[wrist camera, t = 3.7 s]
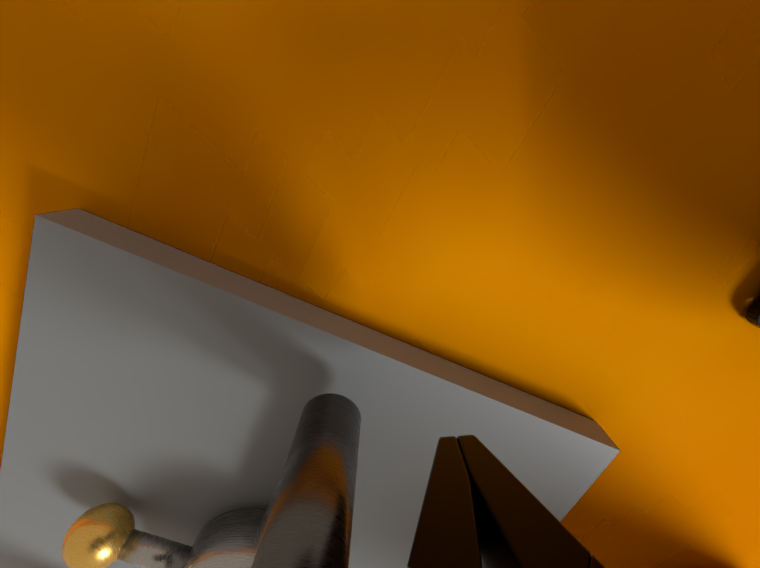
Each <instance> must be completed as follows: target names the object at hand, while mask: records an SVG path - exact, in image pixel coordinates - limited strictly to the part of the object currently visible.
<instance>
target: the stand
mask: <svg viewBox="0 0 760 568" xmlns="http://www.w3.org/2000/svg"><path fill="white" fill-rule="evenodd" d="M327 393H333V394H339V395H342V396H345V397H347V398H348V399H350V400H351V401H353V402H354V403H355V404H356V406H357V407H358V409H359V411H360V414H361V428H360V440H359V451H358V463H357V475H356V486H355V498H354V509H353V521H352V533H351V544H350V556H349V568H407V564H408V560H409V556H410V552H411V548H412V544H413V540H414V536H415V532H416V528H417V524H418V520H419V516H420V512H421V508H422V504H423V500H424V496H425V492H426V488H427V484H428V480H429V476H430V472H431V468H432V464H433V460H434V456H435V452H436V448H437V444H438V440H439V438H440V437H447V436H455V437H456V438H457V437H458V436H460V435H474V436H476V437H477V438H478V439H479V440H480V441H481V442H482V443H483V444H484V445H485V446H486V447H487V448H488V449H489V450H490V451H491V452H492V453H493V454H494V455H495V456H496V457H497V458H498V459H499V460H500V462H501V463H502V464H503V465H504V466H505V467H506V468H507V469H508V470H509V471H510V472H511V473H512V474H513V475H514V476H515V477H516V478H517V479H518V480H519V481H520V482H521V483H522V484H523V485H524V486H525V487H526V488H527V489H528V490H529V491H530V492H531V493H532V494H533V495H534V496H535V497H536V498H537V499H538V500H539V501H540V502H541V503H542V504H543V505H544V506H545V507H546V508H547V509H548V510H549V511H550V512H551V513H552V514H553V515H554V516H555V517H556V518H557V519H558V520H559V521H560V522H561V521H562V519H563V518H564V517H565V516H566V515H567V513H568V512H569V511H570V510H571V509H572V508H573V506H574V505H575V504H576V503H577V502H578V500H579V499H580V498H581V497H582V496H583V494H584V493H585V492H586V491H587V490H588V489H589V487H590V486H591V485H592V484H593V483H594V481H595V480H596V479H597V478H598V477H599V476H600V474H601V473H602V472H603V471H604V470H605V468H606V467H607V466H608V465H609V464H610V462H611V461H612V460H613V459H614V458H615V457H616V455H617V454H618V453H619V452H620V450H619V448H618V447H617V446H616V445H615V444H614V442H613V441H612V440H611V439H610V438H609V436H608V435H607V434H606V433H605V432H604V430H603V429H602V428H601V427H600V426H599V424H598V423H597V422H596V421H594V420H591V419H589V418H586V417H584V416H581V415H579V414H577V413H574V412H572V411H569V410H567V409H564V408H562V407H560V406H557V405H555V404H552V403H550V402H547V401H545V400H543V399H540V398H538V397H535V396H533V395H530V394H528V393H526V392H523V391H521V390H518V389H516V388H513V387H511V386H509V385H506V384H504V383H501V382H499V381H496V380H494V379H492V378H489V377H487V376H484V375H482V374H479V373H477V372H475V371H472V370H470V369H467V368H465V367H462V366H460V365H458V364H455V363H453V362H450V361H448V360H445V359H443V358H441V357H438V356H436V355H433V354H431V353H428V352H426V351H424V350H421V349H419V348H416V347H414V346H411V345H409V344H407V343H404V342H402V341H399V340H397V339H394V338H392V337H390V336H387V335H385V334H382V333H380V332H377V331H375V330H373V329H370V328H368V327H365V326H363V325H360V324H358V323H356V322H353V321H351V320H348V319H346V318H343V317H341V316H339V315H336V314H334V313H331V312H329V311H326V310H324V309H322V308H319V307H317V306H314V305H312V304H309V303H307V302H305V301H302V300H300V299H297V298H295V297H292V296H290V295H288V294H285V293H283V292H280V291H278V290H275V289H273V288H271V287H268V286H266V285H263V284H261V283H258V282H256V281H254V280H251V279H249V278H246V277H244V276H241V275H239V274H237V273H234V272H232V271H229V270H227V269H224V268H222V267H220V266H217V265H215V264H212V263H210V262H207V261H205V260H203V259H200V258H198V257H195V256H193V255H190V254H188V253H186V252H183V251H181V250H178V249H176V248H173V247H171V246H169V245H166V244H164V243H161V242H159V241H156V240H154V239H152V238H149V237H147V236H144V235H142V234H139V233H137V232H135V231H132V230H130V229H127V228H125V227H122V226H120V225H118V224H115V223H113V222H110V221H108V220H105V219H103V218H101V217H98V216H96V215H93V214H91V213H88V212H86V211H84V210H81V209H79V208H78V209H71V210H64V211H57V212H50V213H43V214H36V215H35V220H34V227H33V235H32V242H31V249H30V257H29V264H28V271H27V279H26V286H25V294H24V301H23V308H22V316H21V323H20V330H19V338H18V345H17V352H16V360H15V367H14V374H13V382H12V389H11V396H10V404H9V411H8V418H7V426H6V433H5V441H4V448H3V455H2V463H1V470H0V568H69V567H68V566H67V565H66V563H65V562H64V559H63V555H62V546H63V541H64V538H65V535H66V533H67V531H68V530H69V528H70V526H71V525H72V524H73V523H74V521H75V520H76V519H77V518H78V517H79V516H81V515H82V514H83V513H84V512H86V511H87V510H89V509H91V508H93V507H95V506H97V505H100V504H104V503H119V504H122V505H124V506H126V507H127V508H128V509H129V510H130V511H131V512H132V514H133V516H134V519H135V529H137V530H140V531H143V532H146V533H150V534H153V535H156V536H159V537H163V538H166V539H169V540H172V541H176V542H179V543H182V544H185V545H189V546H193V544H194V542H195V540H196V538H197V536H198V534H199V532H200V530H201V529H202V528H203V526H204V525H205V524H206V523H208V522H209V521H210V520H212V519H213V518H214V517H216V516H218V515H220V514H223V513H226V512H229V511H233V510H239V509H264V510H267V508H268V506H269V504H270V502H271V500H272V497H273V495H274V493H275V491H276V489H277V487H278V484H279V481H280V478H281V475H282V472H283V469H284V466H285V463H286V460H287V457H288V454H289V451H290V448H291V445H292V442H293V439H294V435H295V432H296V429H297V426H298V423H299V420H300V417H301V414H302V411H303V408H304V406H305V405H306V404H307V402H308V401H309V400H311V399H312V398H314V397H316V396H318V395H321V394H327ZM106 568H144V567H140V566H137V565H134V564H130V563H127V562H123V561H120V560H116V561H115V562H114V563H112V564H111V565H109V566H108V567H106Z"/></svg>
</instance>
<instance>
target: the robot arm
mask: <svg viewBox="0 0 760 568" xmlns="http://www.w3.org/2000/svg"><path fill="white" fill-rule="evenodd" d="M746 317H747V320H748V322H750V323H751V324H752V325H754V326H756V327H759V328H760V296H759V297H758V298H757V299H756V300H755V301H754V303H753V304H752V305H751V306H750V308H749V309H748V311H747V316H746ZM407 568H606V567H605V566H604V565H603V564H602V563H601V562H600V561H599V560H598V559H597V558H596V557H595V556H591V553H590V551H589V550H588V549H587V548H586V547H585V546H584V545H583V544H582V543H581V542H580V541H579V540H578V539H577V538H576V537H575V536H574V535H573V534H572V533H571V532H570V531H569V530H568V529H567V528H566V527H565V526H564V525H563V524H562V523H561V522H560V521H559V520H558V519H557V518H556V517H555V516H554V515H553V514H552V513H551V512H550V511H549V510H548V509H547V508H546V507H545V506H544V505H543V504H542V503H541V502H540V501H539V500H538V499H537V498H536V497H535V496H534V495H533V494H532V493H531V492H530V491H529V490H528V489H527V488H526V487H525V486H524V485H523V484H522V483H521V482H520V481H519V480H518V479H517V478H516V477H515V476H514V475H513V474H512V473H511V472H510V471H509V470H508V469H507V468H506V467H505V466H504V465H503V464H502V463H501V462H500V460H499V459H498V458H497V457H496V456H495V455H494V454H493V453H492V452H491V451H490V450H489V449H488V448H487V447H486V446H485V445H484V444H483V443H482V442H481V441H480V440H479V439H478V438H477V437H476V436H474V435H460V436H458V437H457V438H456V437H455V436H447V437H440V438H439V440H438V444H437V448H436V452H435V456H434V460H433V464H432V468H431V472H430V476H429V480H428V484H427V488H426V492H425V496H424V500H423V504H422V508H421V512H420V516H419V520H418V524H417V528H416V532H415V536H414V540H413V544H412V548H411V552H410V556H409V560H408V564H407Z"/></svg>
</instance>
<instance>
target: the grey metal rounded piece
mask: <svg viewBox="0 0 760 568" xmlns="http://www.w3.org/2000/svg"><path fill="white" fill-rule="evenodd" d="M360 428H361V414H360V411H359V409H358V407H357V406H356V404H355V403H354V402H353V401H351V400H350V399H348V398H347V397H345V396H342V395H339V394H333V393H327V394H321V395H318V396H316V397H314V398H312V399H311V400H309V401H308V402H307V404H306V405H305V406H304V408H303V411H302V414H301V417H300V420H299V423H298V426H297V429H296V432H295V435H294V439H293V442H292V445H291V448H290V451H289V454H288V457H287V460H286V463H285V466H284V469H283V472H282V475H281V478H280V481H279V484H278V487H277V489H276V491H275V493H274V495H273V497H272V500H271V502H270V504H269V506H268V508H267V510H264V509H239V510H233V511H229V512H226V513H223V514H220V515H218V516H216V517H214V518H213V519H212V520H210V521H209V522H208V523H206V524H205V525H204V526H203V528H202V529H201V530H200V532H199V534H198V536H197V538H196V540H195V542H194V544H193V546H189V545H185V544H182V543H179V542H176V541H172V540H169V539H166V538H163V537H159V536H156V535H153V534H150V533H146V532H143V531H140V530H137V529H135V519H134V516H133V514H132V512H131V511H130V510H129V509H128V508H127V507H126V506H124V505H122V504H119V503H104V504H100V505H97V506H95V507H93V508H91V509H89V510H87V511H86V512H84V513H83V514H82V515H81V516H79V517H78V518H77V519H76V520H75V521H74V523H73V524H72V525H71V526H70V528H69V530H68V531H67V533H66V535H65V538H64V541H63V546H62V555H63V559H64V562H65V563H66V565H67V566H68V567H69V568H106V567H108V566H109V565H111V564H112V563H114V562H115V561H116V560H120V561H123V562H127V563H130V564H134V565H137V566H140V567H144V568H349V556H350V544H351V533H352V521H353V509H354V498H355V486H356V475H357V463H358V451H359V440H360Z"/></svg>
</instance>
